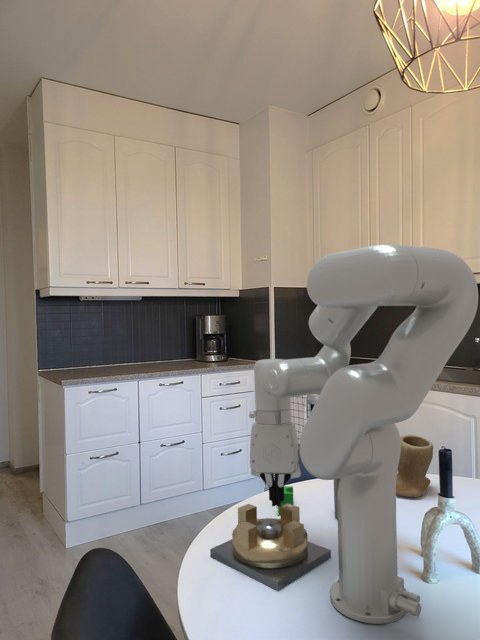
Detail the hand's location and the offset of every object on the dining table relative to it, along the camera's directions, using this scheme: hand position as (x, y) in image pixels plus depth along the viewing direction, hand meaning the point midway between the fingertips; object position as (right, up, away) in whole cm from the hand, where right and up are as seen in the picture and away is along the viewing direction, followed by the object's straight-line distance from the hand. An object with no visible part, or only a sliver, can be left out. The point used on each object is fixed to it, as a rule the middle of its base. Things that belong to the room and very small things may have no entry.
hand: (277, 503), depth 101 cm
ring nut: (-2, -7, -6) cm, 9 cm away
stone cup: (+39, -8, +29) cm, 50 cm away
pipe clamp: (+4, -9, +20) cm, 22 cm away
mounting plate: (-2, -9, -6) cm, 10 cm away
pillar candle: (+19, -8, +13) cm, 25 cm away
